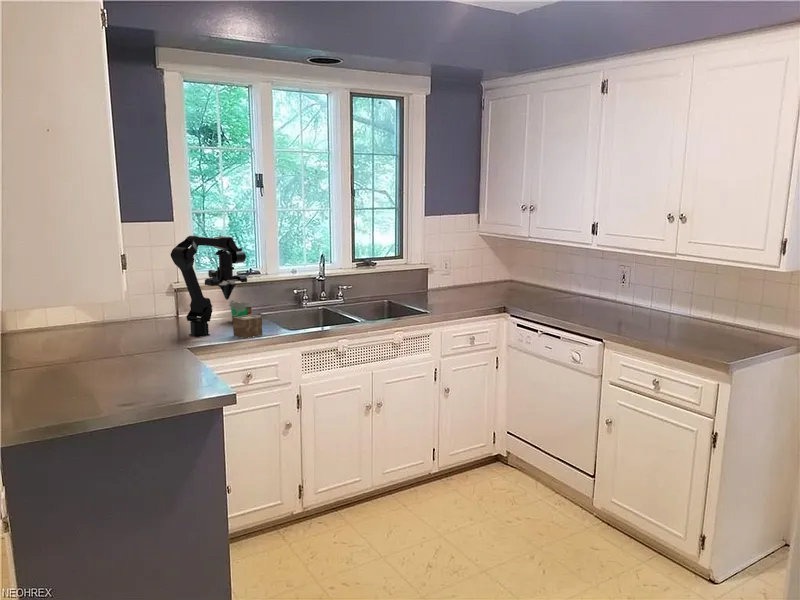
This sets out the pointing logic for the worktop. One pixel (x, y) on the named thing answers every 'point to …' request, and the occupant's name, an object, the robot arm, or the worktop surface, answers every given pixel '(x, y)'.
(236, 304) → the food container
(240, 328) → the walnut block
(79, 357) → the worktop surface
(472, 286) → the worktop surface
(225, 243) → the robot arm
